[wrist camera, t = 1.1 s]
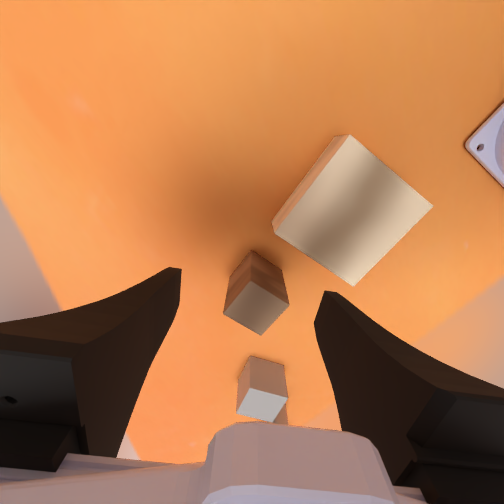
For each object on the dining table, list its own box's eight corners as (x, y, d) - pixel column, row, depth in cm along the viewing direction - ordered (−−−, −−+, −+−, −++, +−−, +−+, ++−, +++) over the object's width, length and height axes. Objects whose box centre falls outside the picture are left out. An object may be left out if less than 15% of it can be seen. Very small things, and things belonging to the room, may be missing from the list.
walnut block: (281, 270, 23) (289, 305, 18) (259, 295, 24) (260, 335, 19) (251, 249, 22) (250, 280, 17) (229, 277, 23) (222, 313, 18)
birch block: (405, 196, 21) (433, 206, 17) (339, 267, 23) (353, 286, 20) (333, 136, 19) (350, 134, 16) (271, 220, 21) (274, 233, 18)
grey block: (283, 364, 28) (288, 398, 24) (270, 387, 29) (272, 422, 26) (250, 355, 27) (249, 387, 24) (238, 379, 29) (236, 413, 25)
